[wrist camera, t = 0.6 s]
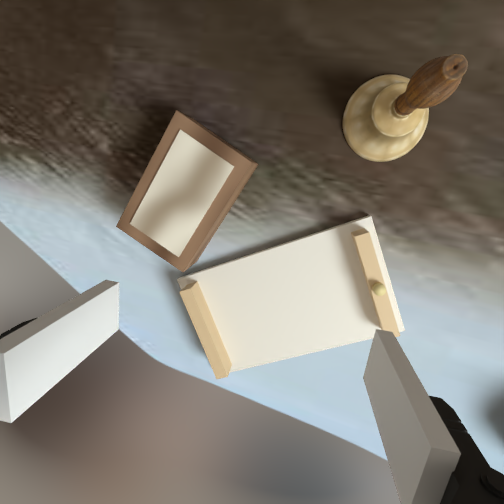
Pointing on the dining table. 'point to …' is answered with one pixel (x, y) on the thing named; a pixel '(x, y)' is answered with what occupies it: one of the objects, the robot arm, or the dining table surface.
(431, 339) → the dining table surface
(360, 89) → the hand bell
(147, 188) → the frame
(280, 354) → the wall panel
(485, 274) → the dining table surface
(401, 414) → the robot arm
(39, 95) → the dining table surface
